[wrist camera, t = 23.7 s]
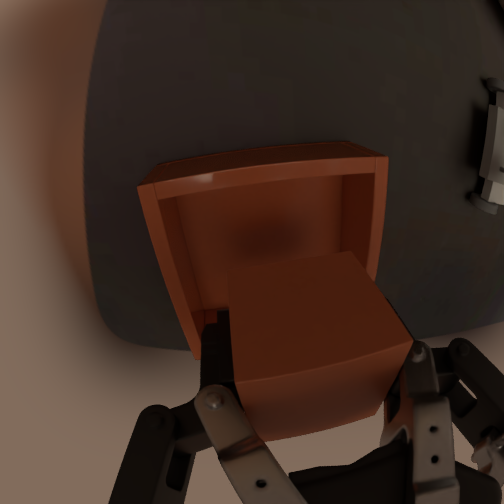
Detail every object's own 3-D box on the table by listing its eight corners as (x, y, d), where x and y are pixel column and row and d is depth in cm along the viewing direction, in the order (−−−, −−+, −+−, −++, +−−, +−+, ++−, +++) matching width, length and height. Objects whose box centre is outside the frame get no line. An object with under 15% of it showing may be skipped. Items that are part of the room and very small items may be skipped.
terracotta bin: (197, 313, 21) (195, 360, 17) (157, 163, 15) (135, 187, 11) (342, 289, 21) (364, 329, 17) (349, 140, 15) (389, 156, 11)
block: (243, 351, 13) (255, 443, 9) (226, 269, 10) (234, 383, 6) (340, 333, 13) (375, 414, 9) (350, 250, 11) (414, 340, 6)
